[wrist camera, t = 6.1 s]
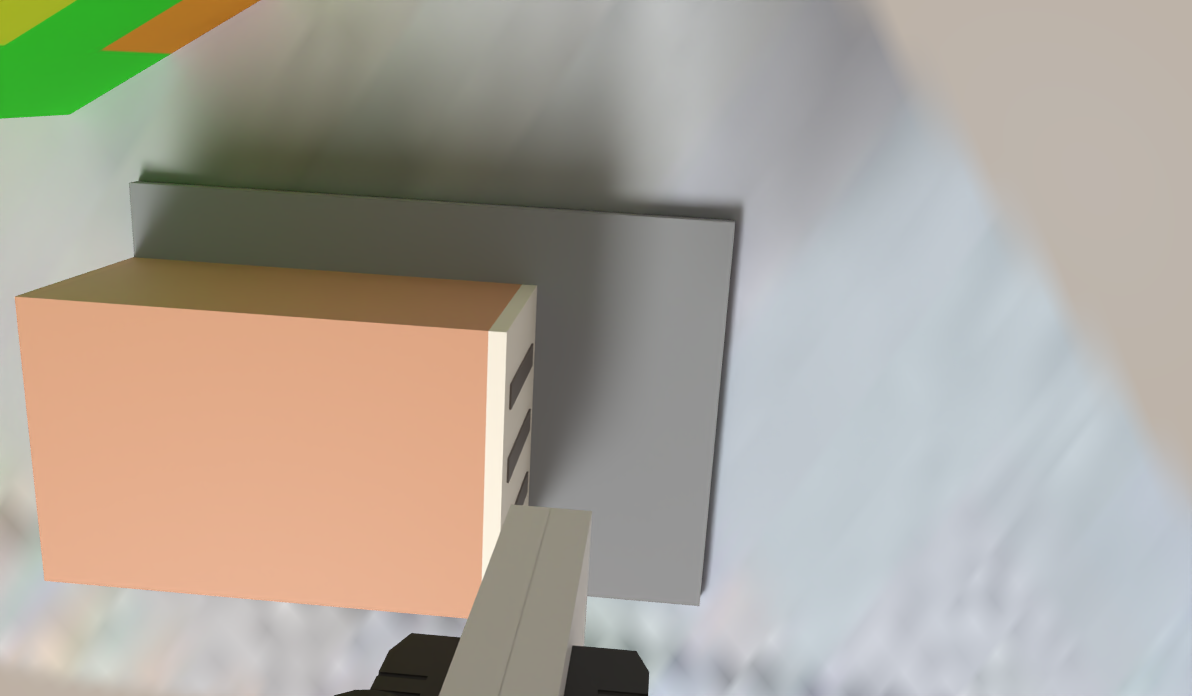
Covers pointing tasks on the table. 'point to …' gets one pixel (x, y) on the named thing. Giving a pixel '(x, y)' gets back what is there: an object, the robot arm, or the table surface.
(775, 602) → the table surface
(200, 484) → the block
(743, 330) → the table surface
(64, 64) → the puzzle toy
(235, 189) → the mat
